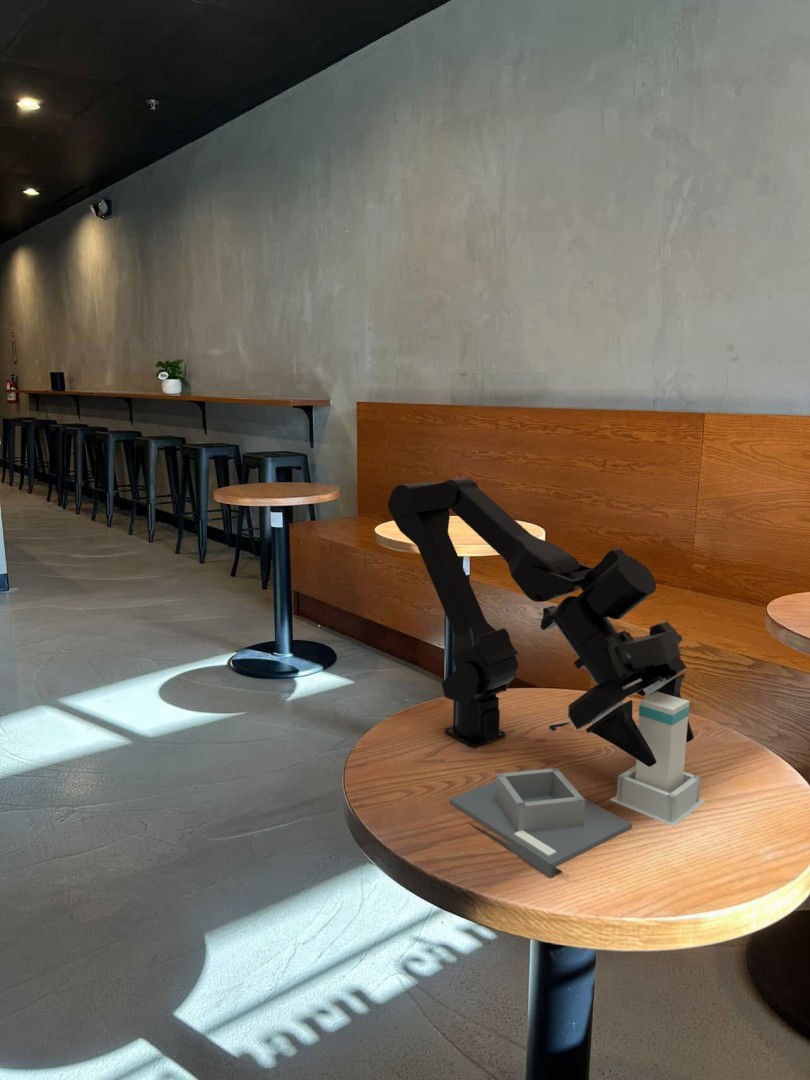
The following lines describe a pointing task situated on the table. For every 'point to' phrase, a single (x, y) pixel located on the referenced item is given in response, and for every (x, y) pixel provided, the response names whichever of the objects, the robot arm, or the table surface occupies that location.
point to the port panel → (550, 837)
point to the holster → (659, 797)
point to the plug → (663, 740)
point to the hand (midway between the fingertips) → (672, 752)
